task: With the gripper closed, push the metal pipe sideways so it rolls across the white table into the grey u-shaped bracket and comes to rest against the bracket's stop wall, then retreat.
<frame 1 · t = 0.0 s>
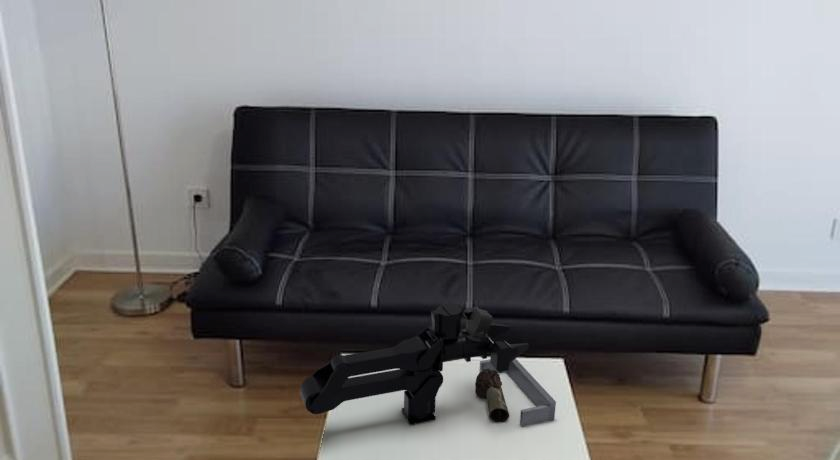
hand: (519, 336, 186), 17 cm above the table, tool horizontal, fingers open, 9 cm apart
grey u-shaped bracket: (525, 394, 193), on the table
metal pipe: (490, 402, 190), on the table
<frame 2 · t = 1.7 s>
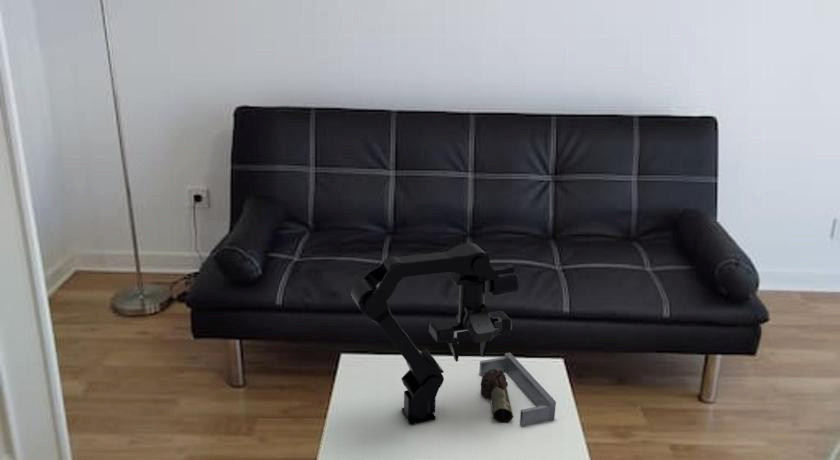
hand: (469, 358, 183), 13 cm above the table, tool pointing down, fingers open, 6 cm apart
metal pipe: (495, 403, 190), on the table
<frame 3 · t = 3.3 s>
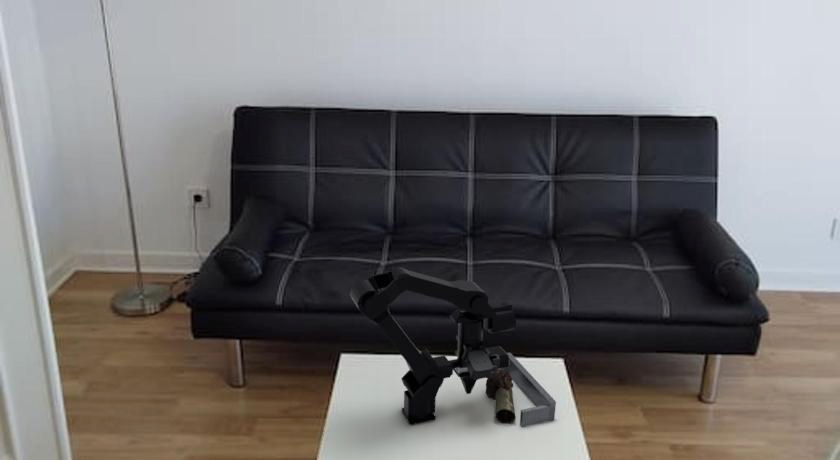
hand: (467, 393, 187), 4 cm above the table, tool pointing down, fingers closed
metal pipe: (499, 403, 190), on the table
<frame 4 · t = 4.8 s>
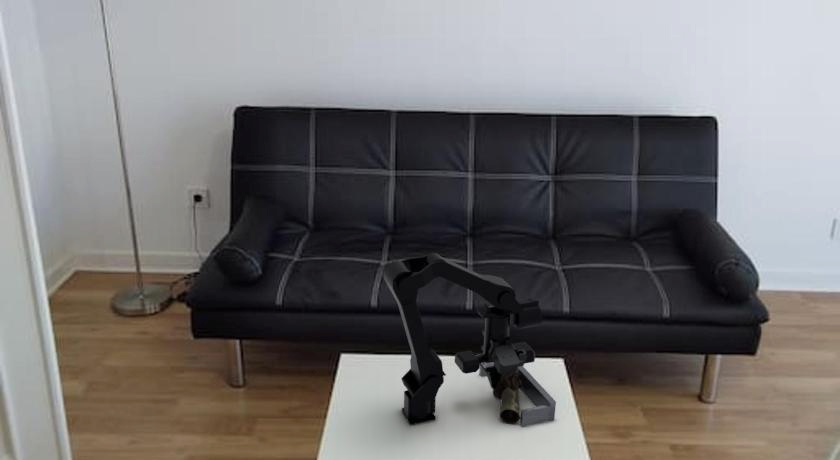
hand: (492, 387, 189), 4 cm above the table, tool pointing down, fingers closed
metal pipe: (506, 403, 190), on the table, touching grey u-shaped bracket, gripper
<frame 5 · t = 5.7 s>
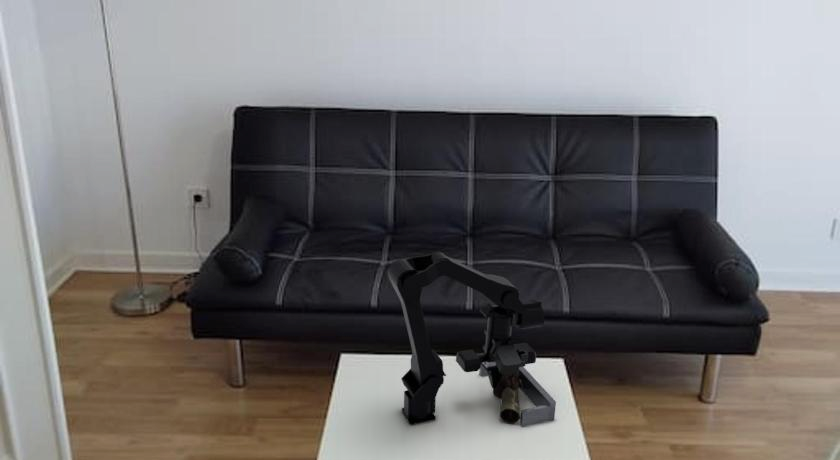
hand: (493, 387, 189), 4 cm above the table, tool pointing down, fingers closed
nothing on the table moved.
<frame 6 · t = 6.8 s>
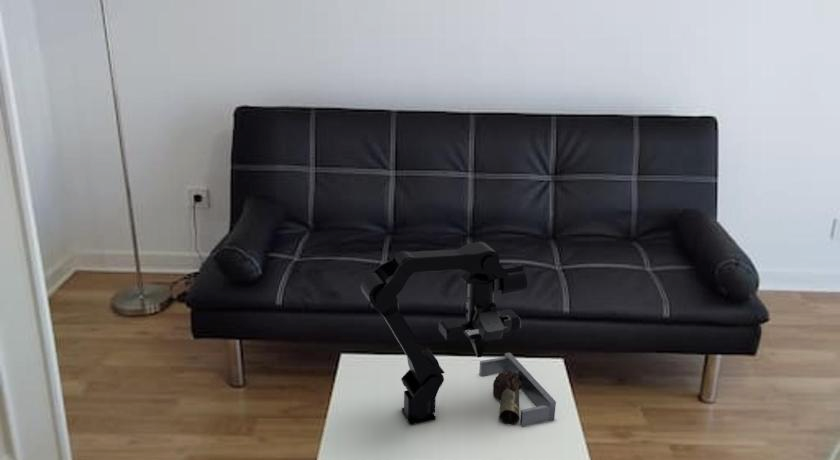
hand: (478, 356, 184), 13 cm above the table, tool pointing down, fingers closed
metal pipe: (506, 404, 189), on the table
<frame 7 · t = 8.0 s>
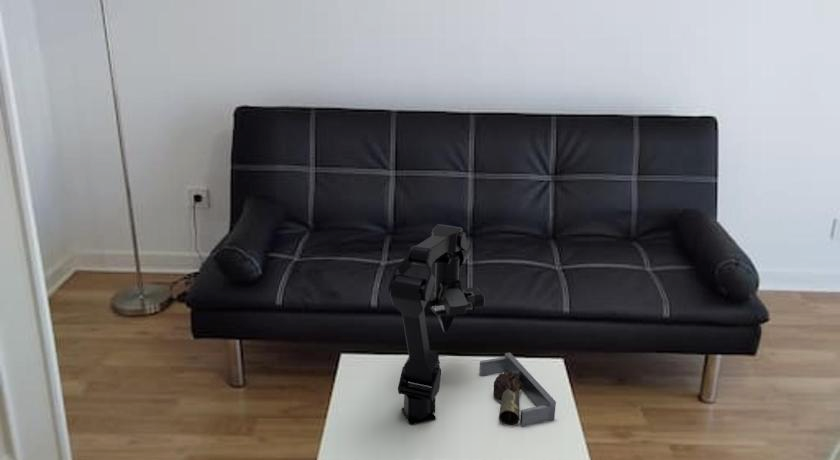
hand: (445, 331, 195), 13 cm above the table, tool pointing down, fingers closed
nothing on the table moved.
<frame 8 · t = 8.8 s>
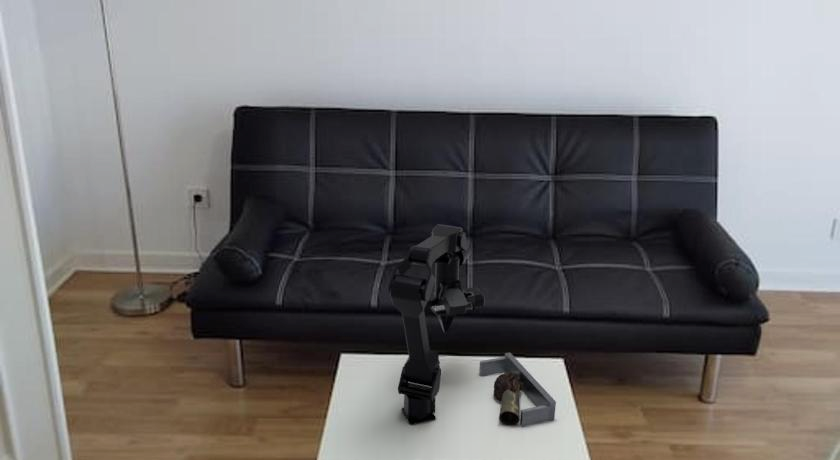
hand: (445, 331, 195), 13 cm above the table, tool pointing down, fingers closed
nothing on the table moved.
at the end: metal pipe 3.6 cm from the target spot, on the table; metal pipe moved 4.3 cm from its start; the gripper is holding nothing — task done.
